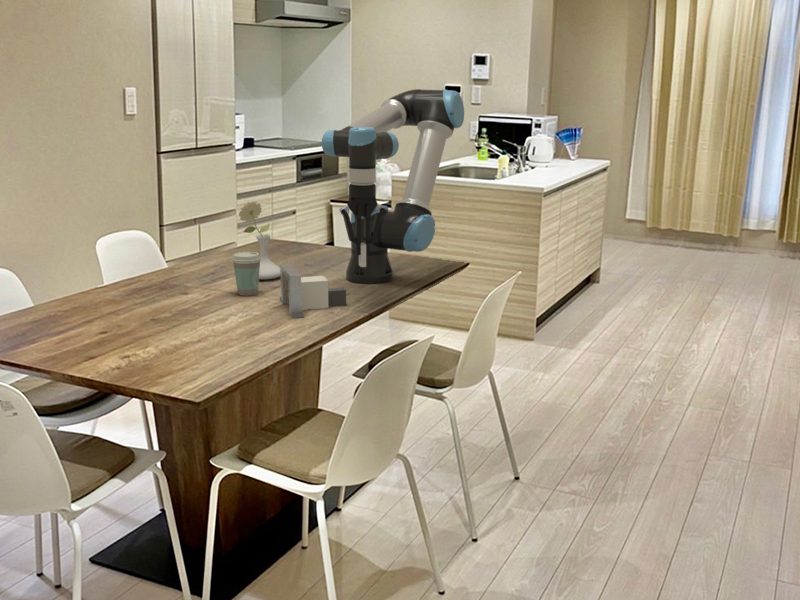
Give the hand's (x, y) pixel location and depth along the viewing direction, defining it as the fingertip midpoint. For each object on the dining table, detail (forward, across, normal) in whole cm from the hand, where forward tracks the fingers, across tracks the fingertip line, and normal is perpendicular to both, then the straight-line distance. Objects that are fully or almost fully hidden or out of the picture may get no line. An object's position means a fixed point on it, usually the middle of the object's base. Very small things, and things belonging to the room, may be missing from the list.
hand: (362, 265), depth 253 cm
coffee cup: (+11, +30, -20) cm, 38 cm away
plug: (+11, +13, 0) cm, 17 cm away
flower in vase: (+11, +23, -38) cm, 46 cm away
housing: (+11, +21, 0) cm, 23 cm away
